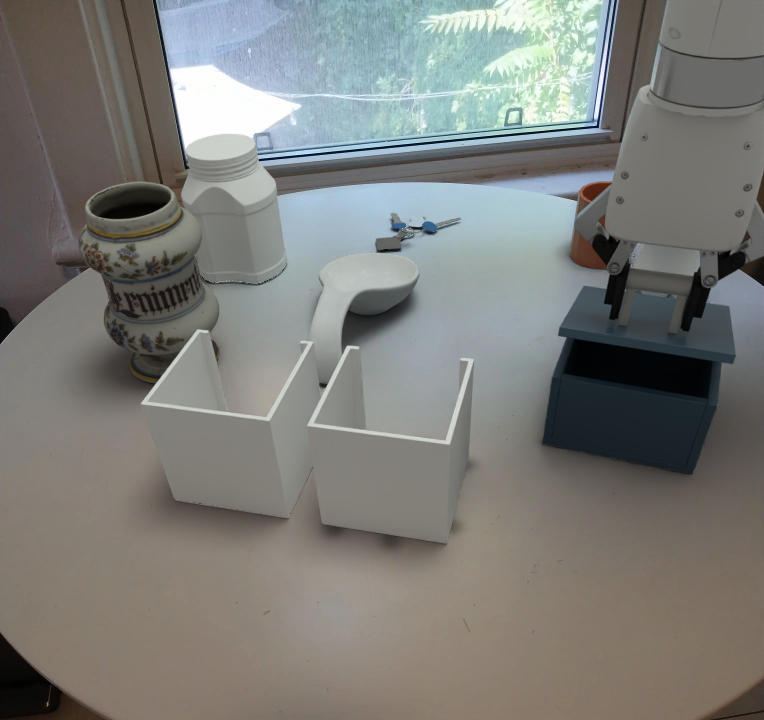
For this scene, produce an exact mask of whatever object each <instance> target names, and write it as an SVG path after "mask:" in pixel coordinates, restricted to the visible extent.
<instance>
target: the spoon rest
mask: <svg viewBox="0 0 764 720" xmlns="http://www.w3.org/2000/svg"><path fill="white" fill-rule="evenodd" d="M419 277H420V269H419V266H418V265H417V264H416V263H415V262H414V261H413V260H412V259H409V258H407V257H405V256H401V255H398V254H394V253H383V252H360V253H353V254H348V255H347V254H346V255H344V256H341V257H338V258H336V259H333V260H331V261H330V262H328V263H327V264H325V265H324V266H323V267H322V268H321V269H320V271H319V273H318V281H319V283H320V285H321V286H322V291H321V294H320V296H319V299H318V301H317V304H316V307H315V311H314V313H313V318H312V321H311V324H310V329H309V332H308V337H307V341H311V342H314V349H315V357H316V365H317V372H318V380H319V384H326V385H328V383H329V381H330V379H331V377H332V375H333V373H334V371H335V369H336V367H337V365H338V363H339V361H340V359H341V357H342V355H343V347H342V337H343V328H344V323H345V319H346V317H347V314H348V311H349V312H351V313H353V314H355V315H360V316H373V315H380V314H382V313H385V312H387V311H389V310H391V309H392V308H393V307H394V306H397V305H398V304H400V303H401V302H403V301H404V300H405V299H406V298H407V297H408V296H409V295H410V294H411V293H412V291H413V290H414V288H415V286H416V285H417V282H418V280H419Z"/></svg>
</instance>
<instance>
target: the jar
mask: <svg viewBox="0 0 764 720" xmlns="http://www.w3.org/2000/svg"><path fill="white" fill-rule="evenodd" d="M185 157H186V162H187V163H188V164H187V165H188V168H189V171H188V174H187V177H186V179H185V182H184V184H183V187H182V188H181V189H182V190H181V191H180V192H181V193H180V196H181V201H182V205H183V208H184V209H186V210H187V211H189V212H190V213H191V214H192V215H193V216H194V217H195V218H196V219H197V221H198V223H199V225H200V227H201V231H202V240H201V244H200V247H199V249H198V251H197V253H196V254H195V257H196V264H197V268H198V272H199V275H200V277H201V278H202V277H203V278H204V279H203V278H202V279H203V280H204V281H206V280H207V281H209V282H219V281H226V280H227V281H229V280H230V281H232V280H233V281H242V282H249V283H259V282H263V281H266V280H268V281H266V282H263V283H260V284H255V285H257V286H258V285H261V284H264V283H267V282H269V281H270V280H269V279H270V278H272V277H274V276H276V275H277V276H276V277H278V276H279V275H280V274H281V273H282V272H283V271H284V270H285V269H286V267H287V265H286V263H287V264H288V258H287V257H288V256H287V250H286V248H285V242H284V235H283V227H282V222H281V214H280V208H279V200H278V189H277V187H278V186H277V182H276V180H275V178H274V177H273V176H272V175H271V174H270V173H269V172H268V170H266V168H265V167H264V166H263V165H262V164H261V163H260V161H259V160H260V159H259V154H258V147H257V143H256V140H255V139H254V138H252V137H250V136H249V135H245V134H240V133H219V134H218V133H217V134H213V135H207V136H204V137H201V138H197V139H195V140H193V141H192V142H191V143H189V144H188V145H187V146H186V148H185ZM285 266H286V267H285ZM284 268H285V269H284ZM283 269H284V270H283ZM282 270H283V271H282ZM281 271H282V272H281ZM280 272H281V273H280ZM279 273H280V274H279ZM278 274H279V275H278ZM276 277H274V278H272V279H271V280H273V279H275V278H276ZM207 281H206V282H207ZM209 282H208V283H209ZM242 282H237V283H239V284H243V283H242ZM224 283H225V284H226V283H227V282H221V283H220V284H224ZM245 284H246V285H249V284H248V283H245Z"/></svg>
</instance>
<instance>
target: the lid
mask: <svg viewBox="0 0 764 720" xmlns="http://www.w3.org/2000/svg"><path fill="white" fill-rule="evenodd" d="M693 280H694V276H689V275H681V274H674V273H666V272H659V271H651V270H644V269H636V268H633V267H630V269H629V271H628V276H627V280H626V285H625V293H624V298H623V302H622V306H621V309H620V313H619V317H618V319H615V320H609V316H610V311H611V306H612V305H607V304H604V300H605V295H606V290H607V288H604V287H598V286H597V287H596V286H590V285H583V286H582V288H581V289H580V291H579V293H578V295H577V297H576V298H575V299H574V301H573V303H572V305H571V307H570V308H569V310H568V312H567V313H566V315H565V317H564V319H563V320H562V322H561V323H560V325H559V327H558V333H557V336H558V337H561V338H566V337H567V338H573V339H580V340H586V341H592V342H598V343H604V344H611V345H617V346H623V347H629V348H635V349H642V350H648V351H654V352H660V353H666V354H673V355H679V356H685V357H691V358H697V359H703V360H710V361H716V362H722V364H729V365H733V364H734V363H735V359H736V356H737V354H736V346H735V337H734V331H733V324H732V317H731V309H730V305H725V304H717V303H709V302H707V303H706V306H705V309H704V313H703V316H702V318H695V317H693V320H692V323H691V327H690V330H689V332H687V331H682V329H680V327H681V321H682V315H683V310H684V307H685V303H686V300H687V297H689V295H690V292H691V288H692V285H693ZM635 290H643V291H650V292H657V293H664V294H671V295H678V296H677V299H675V298H669V296H666V297H661V296H654V295H647V294H640V293H636V291H635Z"/></svg>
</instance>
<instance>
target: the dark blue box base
mask: <svg viewBox="0 0 764 720" xmlns="http://www.w3.org/2000/svg"><path fill="white" fill-rule="evenodd" d="M722 365H723V363H722V362H716V361H710V360H703V359H697V358H691V357H685V356H679V355H673V354H666V353H660V352H654V351H648V350H642V349H635V348H629V347H623V346H617V345H611V344H604V343H598V342H592V341H586V340H580V339H573V338H567V337H565V340H564V342H563V345H562V349H561V351H560V354H559V357H558V360H557V363H556V365H555V368H554V370H553V373H552V376H551V382H550V388H549V394H548V396H549V397H548V400H547V402H548V403H547V409H546V416H545V421H544V422H545V423H544V429H543V435H542V442H541V444H542V445H545V446H549V447H550V446H551V447H556V448H560V449H565V450H568V451H569V450H570V451H573V452H574V451H575V452H580V453H584V454H589V455H594V456H599V457H604V458H608V459H614V460H619V461H624V462H629V463H632V464H633V463H634V464H638V465H643V466H648V467H653V468H658V469H662V470H668V471H672V472H678V473H683V474H687V475H693V474H694V472H695V469H696V466H697V464H698V462H699V458H700V455H701V453H702V450H703V447H704V445H705V442H706V438H707V436H708V433H709V430H710V429H711V428H710V427H711V424H712V422H713V419H714V417H715V415H716V411H717V408H718V403H719V394H720V393H719V392H720V383H721V375H722Z"/></svg>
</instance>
